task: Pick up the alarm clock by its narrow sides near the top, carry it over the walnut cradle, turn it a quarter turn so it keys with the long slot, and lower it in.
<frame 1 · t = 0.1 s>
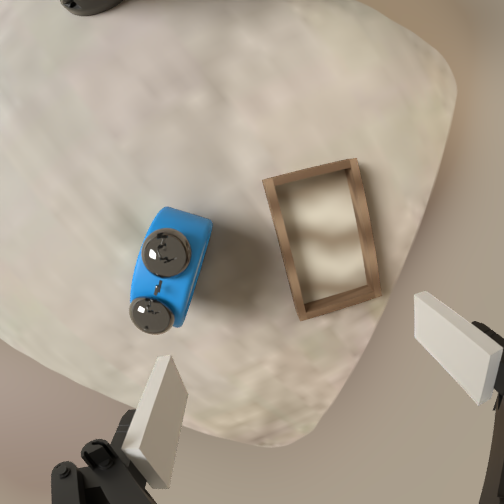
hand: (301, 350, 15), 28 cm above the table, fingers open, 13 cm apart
alarm clock: (182, 252, 42), on the table
cradle: (322, 236, 42), on the table
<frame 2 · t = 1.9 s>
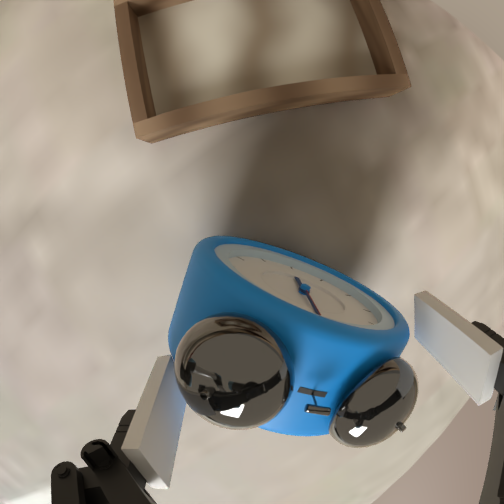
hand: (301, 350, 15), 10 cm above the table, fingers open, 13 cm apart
alarm clock: (275, 285, 25), on the table, touching gripper
cradle: (257, 42, 20), on the table
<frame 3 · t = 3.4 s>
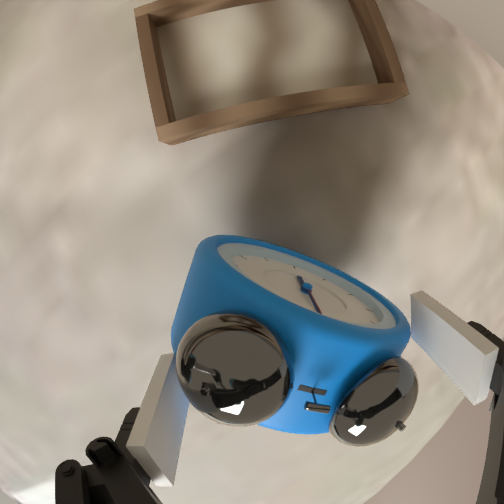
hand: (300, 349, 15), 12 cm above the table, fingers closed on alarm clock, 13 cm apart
alarm clock: (278, 284, 25), point 2 cm above the table, touching gripper
cradle: (267, 53, 22), on the table
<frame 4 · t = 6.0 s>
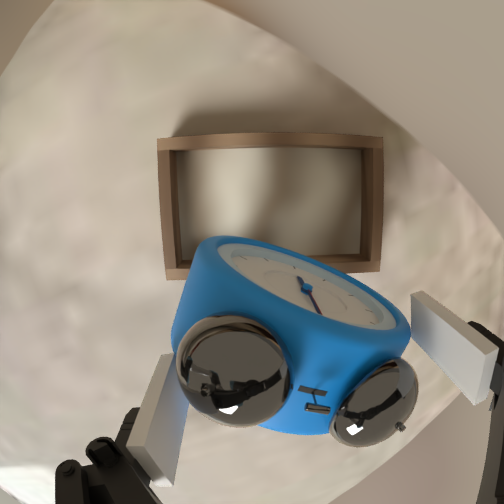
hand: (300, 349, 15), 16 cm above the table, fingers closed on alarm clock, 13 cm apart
alarm clock: (278, 284, 25), point 6 cm above the table, touching gripper
cradle: (271, 202, 29), on the table
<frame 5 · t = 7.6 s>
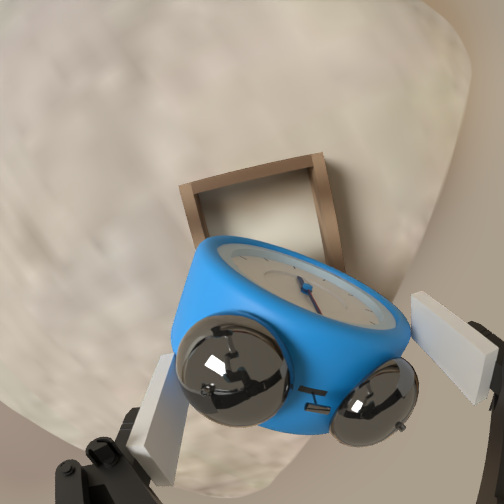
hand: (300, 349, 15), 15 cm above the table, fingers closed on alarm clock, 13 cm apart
alarm clock: (279, 284, 25), point 6 cm above the table, touching gripper
cradle: (272, 265, 30), on the table
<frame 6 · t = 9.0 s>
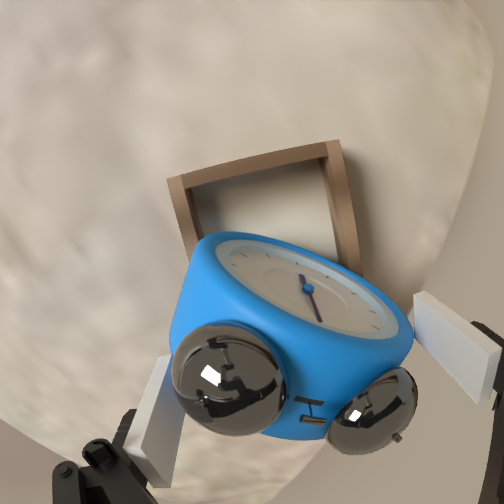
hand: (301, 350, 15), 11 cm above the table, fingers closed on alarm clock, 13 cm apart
alarm clock: (281, 279, 24), point 2 cm above the table, touching cradle, gripper
cradle: (278, 272, 26), on the table
when the fingers open (11 cm above the table, at t = 9.5 s): alarm clock stays where it is, resting on cradle.
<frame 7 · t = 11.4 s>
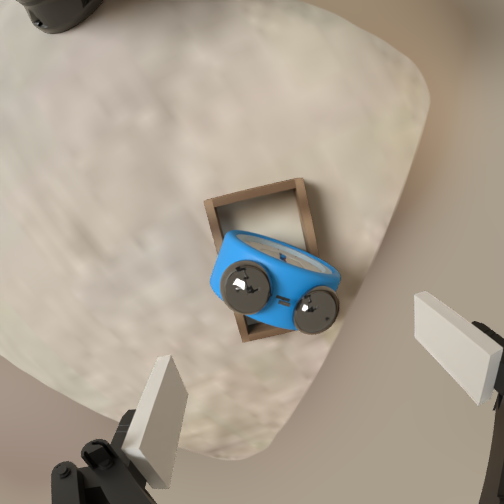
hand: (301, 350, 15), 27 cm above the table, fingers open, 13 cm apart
alarm clock: (269, 261, 41), point 2 cm above the table, touching cradle
cradle: (268, 257, 42), on the table
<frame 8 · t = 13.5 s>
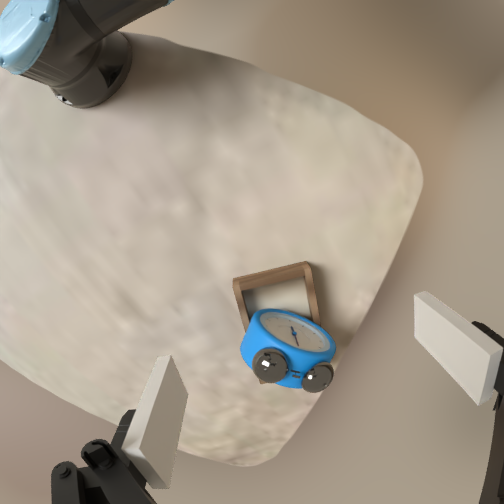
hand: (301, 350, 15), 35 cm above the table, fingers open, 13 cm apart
alarm clock: (282, 325, 51), point 2 cm above the table, touching cradle
cradle: (281, 321, 53), on the table
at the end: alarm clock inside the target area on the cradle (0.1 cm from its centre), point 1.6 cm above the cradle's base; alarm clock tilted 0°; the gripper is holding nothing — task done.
